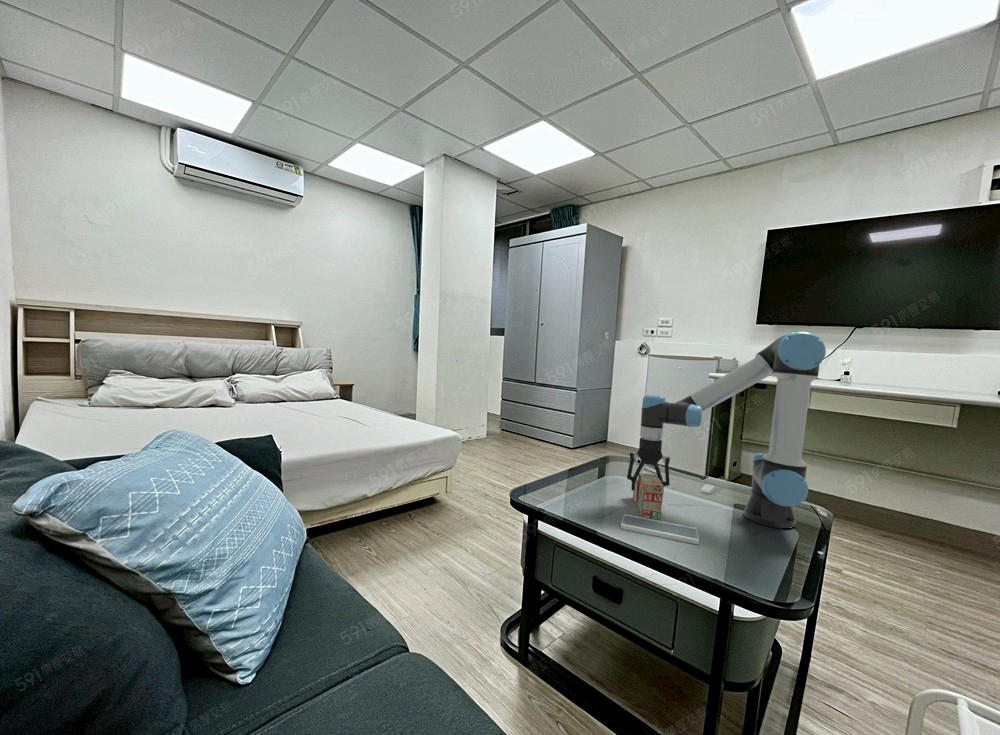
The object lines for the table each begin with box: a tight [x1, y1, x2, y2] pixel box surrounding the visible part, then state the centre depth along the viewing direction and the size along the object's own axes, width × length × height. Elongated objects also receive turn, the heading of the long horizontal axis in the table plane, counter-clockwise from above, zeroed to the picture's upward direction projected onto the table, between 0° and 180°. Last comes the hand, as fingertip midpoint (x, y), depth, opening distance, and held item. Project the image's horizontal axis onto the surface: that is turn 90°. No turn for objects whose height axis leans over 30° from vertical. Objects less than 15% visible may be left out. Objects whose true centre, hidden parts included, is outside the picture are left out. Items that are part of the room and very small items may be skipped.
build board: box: [620, 513, 700, 545], centre depth 127 cm, size 22×10×1 cm, turn 67°
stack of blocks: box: [632, 472, 665, 521], centre depth 146 cm, size 21×6×12 cm, turn 170°
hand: (646, 501), depth 145 cm, fingers closed on stack of blocks, 7 cm apart
